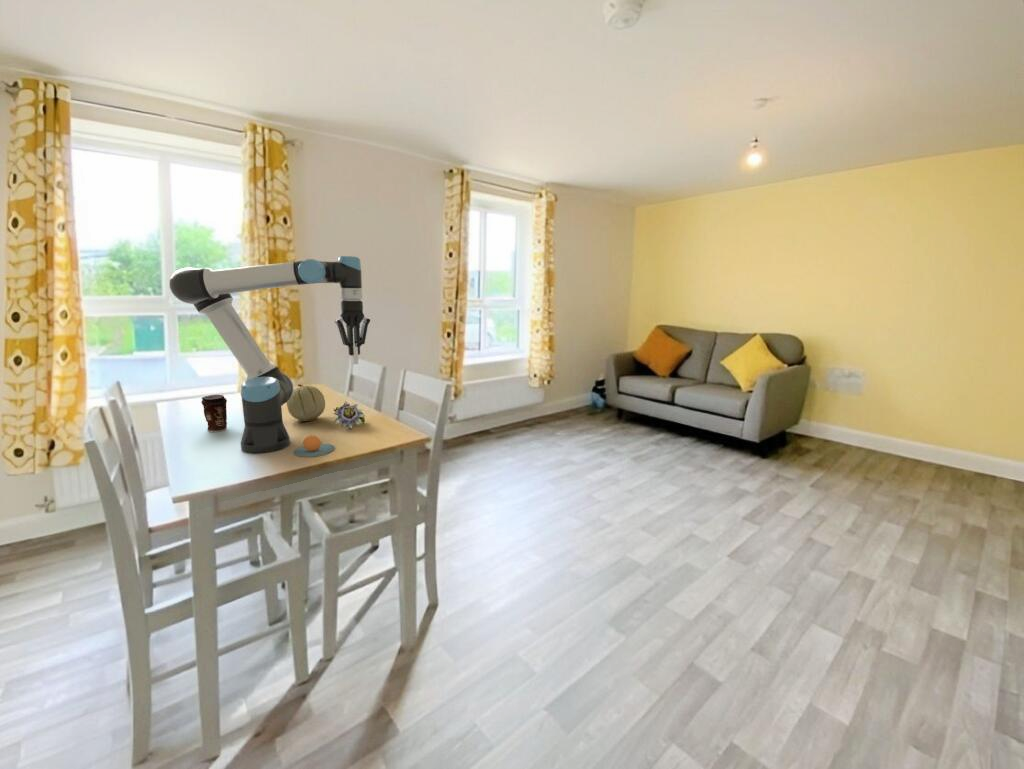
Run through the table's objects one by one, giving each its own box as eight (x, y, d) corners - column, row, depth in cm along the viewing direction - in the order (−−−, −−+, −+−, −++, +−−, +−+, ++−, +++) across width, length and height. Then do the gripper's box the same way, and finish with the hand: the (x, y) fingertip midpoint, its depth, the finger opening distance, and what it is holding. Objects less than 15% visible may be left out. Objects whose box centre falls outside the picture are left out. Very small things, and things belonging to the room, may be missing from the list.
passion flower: (351, 441, 186) (334, 422, 178) (340, 430, 194) (323, 411, 186) (374, 423, 190) (358, 403, 182) (363, 412, 197) (347, 392, 189)
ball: (326, 447, 161) (311, 457, 158) (318, 440, 164) (303, 450, 161) (320, 436, 157) (305, 446, 155) (312, 429, 161) (297, 438, 158)
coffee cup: (199, 430, 179) (195, 397, 176) (221, 424, 186) (217, 393, 183) (212, 434, 175) (208, 400, 172) (234, 428, 182) (231, 395, 179)
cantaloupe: (317, 425, 187) (314, 389, 184) (281, 424, 188) (277, 388, 184) (332, 415, 202) (330, 381, 199) (298, 414, 202) (295, 380, 199)
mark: (295, 459, 152) (295, 458, 152) (292, 447, 163) (292, 446, 163) (337, 453, 158) (337, 452, 158) (332, 441, 169) (332, 441, 169)
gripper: (338, 300, 165) (342, 366, 170) (373, 300, 173) (375, 363, 178) (329, 299, 170) (333, 364, 175) (364, 299, 179) (366, 360, 184)
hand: (355, 363), depth 177 cm, fingers closed
